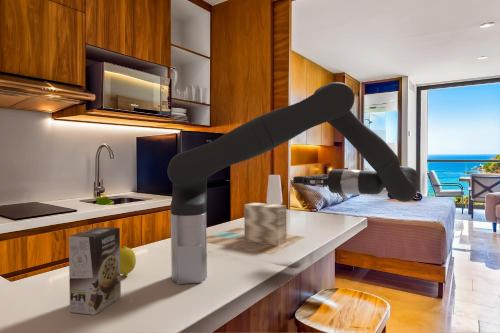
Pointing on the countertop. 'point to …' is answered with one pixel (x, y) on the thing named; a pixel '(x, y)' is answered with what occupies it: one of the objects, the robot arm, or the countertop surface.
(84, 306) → the grey snack box
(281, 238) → the birch block
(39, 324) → the countertop surface
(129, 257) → the lemon
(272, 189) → the champagne flute
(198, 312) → the countertop surface
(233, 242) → the trap deck
